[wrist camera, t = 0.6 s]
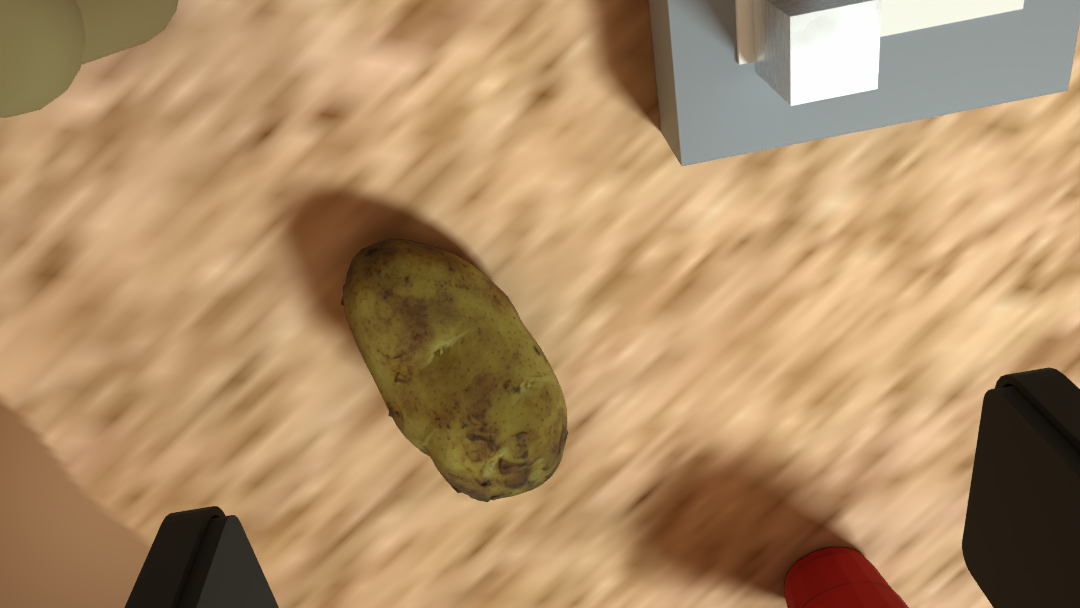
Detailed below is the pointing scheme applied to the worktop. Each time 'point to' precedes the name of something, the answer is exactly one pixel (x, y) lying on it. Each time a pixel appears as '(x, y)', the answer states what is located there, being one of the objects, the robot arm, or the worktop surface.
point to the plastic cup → (838, 582)
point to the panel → (902, 96)
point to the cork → (66, 43)
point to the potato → (456, 368)
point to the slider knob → (817, 47)
